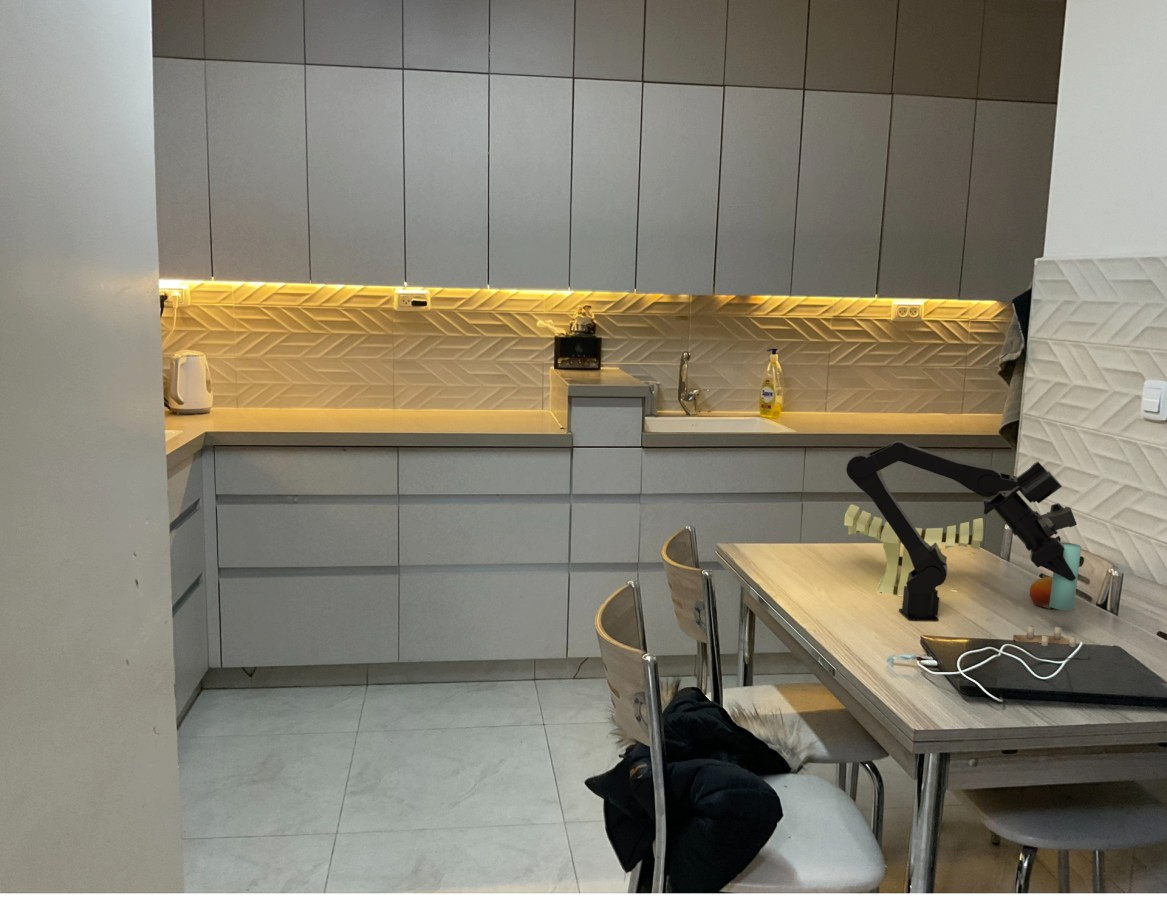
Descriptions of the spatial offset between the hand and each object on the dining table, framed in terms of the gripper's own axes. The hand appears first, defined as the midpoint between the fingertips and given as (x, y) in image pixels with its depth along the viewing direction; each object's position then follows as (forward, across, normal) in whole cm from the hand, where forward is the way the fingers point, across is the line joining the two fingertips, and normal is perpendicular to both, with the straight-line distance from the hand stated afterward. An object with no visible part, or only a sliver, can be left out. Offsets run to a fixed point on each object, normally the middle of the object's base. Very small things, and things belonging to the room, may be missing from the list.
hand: (1072, 576), depth 198 cm
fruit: (+8, +23, +10) cm, 26 cm away
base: (+7, -10, +12) cm, 17 cm away
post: (+4, 0, +6) cm, 7 cm away
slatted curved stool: (-13, +23, +32) cm, 41 cm away
